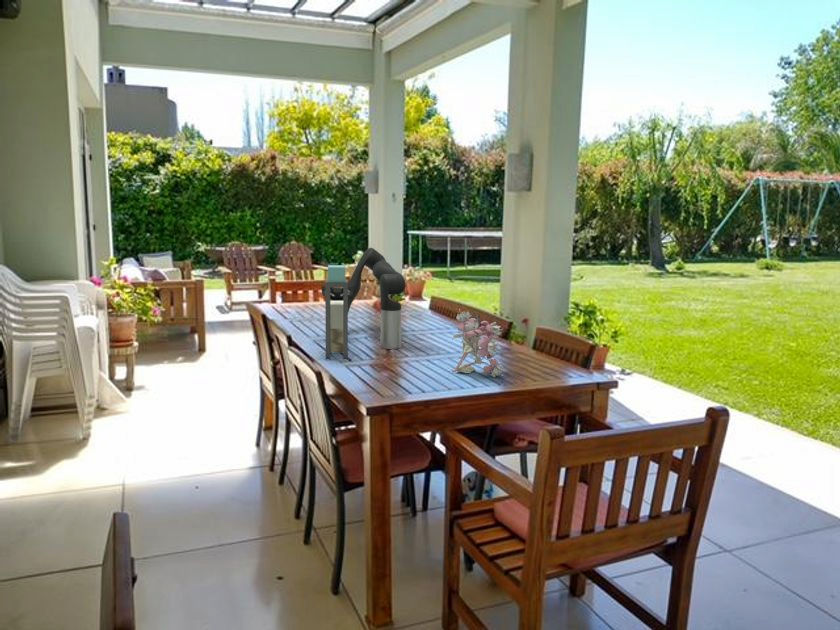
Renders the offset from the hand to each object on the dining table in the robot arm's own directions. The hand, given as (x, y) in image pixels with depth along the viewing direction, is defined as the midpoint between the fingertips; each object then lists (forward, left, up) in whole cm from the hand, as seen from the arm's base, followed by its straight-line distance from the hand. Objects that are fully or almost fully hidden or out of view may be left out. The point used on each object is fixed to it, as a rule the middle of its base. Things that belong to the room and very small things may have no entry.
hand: (337, 284), depth 293 cm
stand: (0, +24, -28) cm, 36 cm away
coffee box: (-59, +16, -28) cm, 67 cm away
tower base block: (0, +10, -28) cm, 29 cm away
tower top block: (0, +10, -17) cm, 20 cm away
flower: (-55, +58, -28) cm, 84 cm away
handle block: (0, +18, +4) cm, 19 cm away
